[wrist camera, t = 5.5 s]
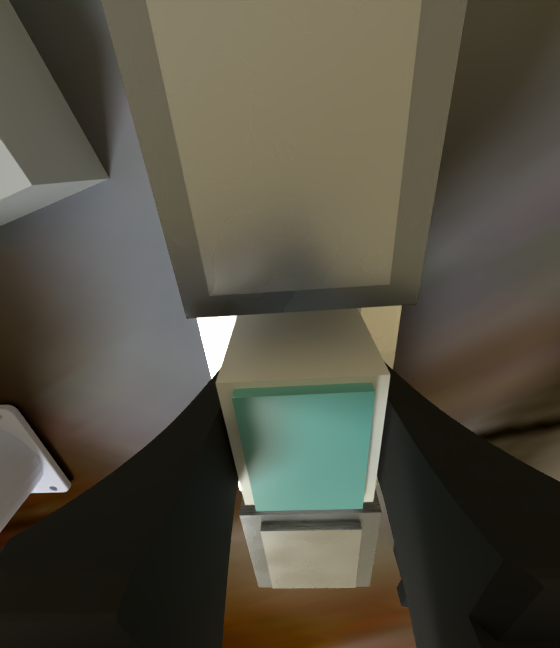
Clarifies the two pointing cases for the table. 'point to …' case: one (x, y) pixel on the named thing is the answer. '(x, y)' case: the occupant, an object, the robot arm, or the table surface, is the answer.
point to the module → (304, 409)
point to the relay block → (36, 130)
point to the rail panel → (293, 187)
